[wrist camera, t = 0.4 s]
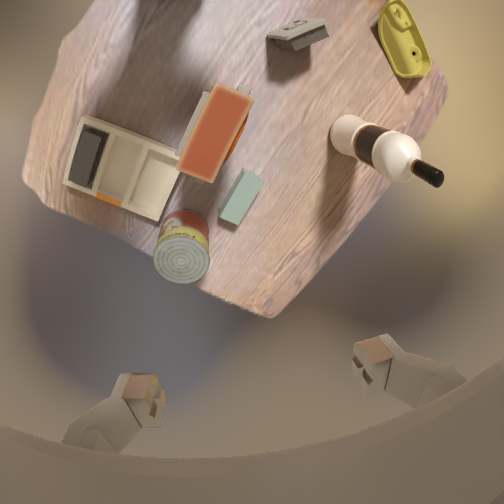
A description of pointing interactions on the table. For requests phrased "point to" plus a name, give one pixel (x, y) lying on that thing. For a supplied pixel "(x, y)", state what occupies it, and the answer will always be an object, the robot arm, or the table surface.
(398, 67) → the plastic component
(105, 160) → the cream compartment tray
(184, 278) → the canned food
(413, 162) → the vodka
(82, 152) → the dark grey long block
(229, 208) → the panel
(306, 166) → the table surface
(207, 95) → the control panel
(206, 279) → the table surface
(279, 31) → the electrical switch
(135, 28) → the table surface
